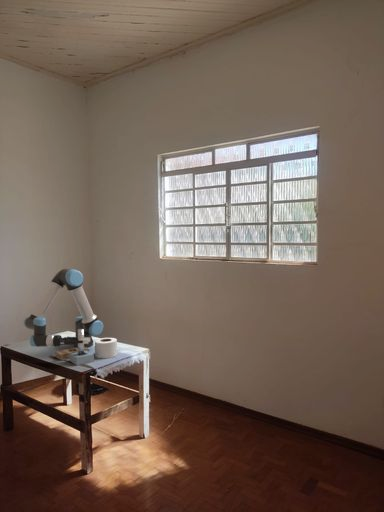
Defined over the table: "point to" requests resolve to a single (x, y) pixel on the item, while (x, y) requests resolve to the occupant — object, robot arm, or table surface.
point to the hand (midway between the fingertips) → (88, 340)
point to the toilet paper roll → (105, 347)
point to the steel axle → (80, 346)
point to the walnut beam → (67, 353)
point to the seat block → (82, 358)
